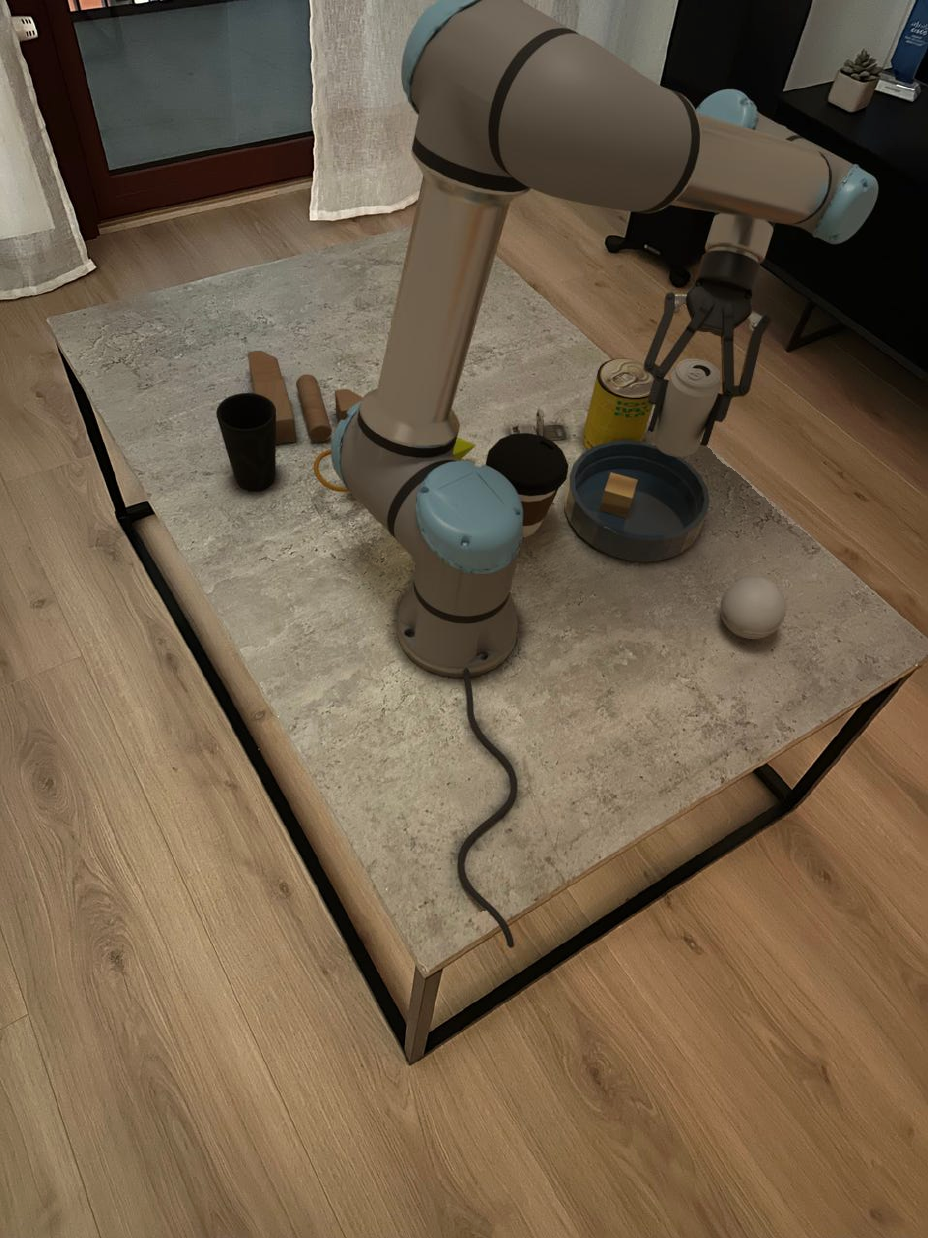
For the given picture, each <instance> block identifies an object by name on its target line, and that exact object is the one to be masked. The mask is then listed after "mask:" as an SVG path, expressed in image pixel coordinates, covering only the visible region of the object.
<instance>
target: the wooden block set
mask: <svg viewBox="0 0 928 1238" xmlns="http://www.w3.org/2000/svg"><path fill="white" fill-rule="evenodd" d="M247 360H248V367H249V374H250V376H251V377H250V378H251V382H252V387H253V393H254V394H259V395H262V396H264V397H266V398H268V399H269V400H270V401H272V402H273V404H274V406H275V408H276V445H280V444H281V445H282V444H288V443H294V442H296V440H297V434H296V433H297V432H296V423H295V417H294V412H293V408H292V405H291V400H290V397H289V393H288V389H287V385H286V382H285V381H284V379H283V374H282V371H281V368H280V364H279V359H278V358H277V357H276V356H275V355H271V354H269V353H267V352H264V351H263V350H252V351H249V352H248V353H247ZM295 387H296V390H297V394H298V398H299V402H300V405H301V408H302V412H303V416H304V419H305V420H304V421H305V423H306V427H307V430H308V434H309V437H310V438H311V439H312V440H313V441H315V442H318V443H319V442H326V441H327V440H328V439H330V437H331V436H332V433H333V430H332V426H331V423H330V419H329V417H328V413H327V409H326V405H325V403H324V399H323V396H322V392H321V389H320V385H319V383H318V380H317V377H315V376H314V375H312V374H309V373H308V374H307V373H306V374H301V375H300V376H299V377H298V378H297V380H296V382H295ZM363 397H364V396H361V395H359V394H358V393H356V392H354V391H353V390H351V389H349V388H344V389H335V390H334V401H335V417H336V420H337V423H338V424H339V422H340V420H345V419H346V418H347V417H348V415H347V412H348V410H349V409H350V408H351V407H352V406H354V405H355V404H356V403H358V402H360V401H361V400H362V398H363Z"/></svg>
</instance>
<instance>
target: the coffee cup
mask: <svg viewBox="0 0 928 1238" xmlns="http://www.w3.org/2000/svg"><path fill="white" fill-rule="evenodd" d="M485 465H486V466H489V467H491V468H493V469H495V470H496V471H498V472H499V473H501V474H502V475H503V476H504V477H506V478H507V479H508V480H509V482H510V483H511V484H512V485H513V486H514V488H515V489H516V491H517V493H518V495H519V497H520V500H521V503H522V508H523V523H522V524H523V536H522V538H527V537H529V536H531V535H533V534H534V533H536V532H537V531H538V529H539V528H540V527H541V526H542V523H543V522H544V519H545V517H546V516H548V514H549V511H550V509H551V506H552V504H553V502H554V500H555V498H556V495H557V493H558V491H559V489H560V488H561V487H562V486H563V484H564V483H565V482H566V481H567V479H568V472H569V466H570V465H569V462H568V461H567V457H566V455H565V453H564V451H563V449H562V448H560V446H558V445H557V443H555V442H554V440H549V439H547V438H545V437H542V436H540V435H539V434H537V435H535V434H530V433H519V434H518V433H514V434H509V435H506V436H504V437H502V438H499V439H498V441H496V442H495V444H494V445H492V447H491V448H490V449H489V450H488V452H487V456H486V460H485Z"/></svg>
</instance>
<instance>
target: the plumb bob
mask: <svg viewBox="0 0 928 1238" xmlns="http://www.w3.org/2000/svg"><path fill="white" fill-rule="evenodd" d="M476 446H477V444H474V443H472V442H470V441H469V440H465V439H463V438H461V437H458V436H457V439H456V443H455V446H454V450H453V455H454V457H455V458H456V459H457V460H458V461H462V459H463V458H464V457H465V456H466V455H468V454H469V453H470V452H471V451H472V450H473V449H474V448H475V447H476ZM329 455H331V448H330V449H327V450H324V451H323V452H321V453H320V454H319V455H317V457H316V458H315V460H314V464H313V473H314V475H315V478H316V479H317V480H318V482H320V483H321V484H322V486H324V487H326V488H327V489H329V490H332V491H334V492H341V493H347V492H349V491H348V490H347V489H346V487H345V486H337V485H334V484H332V483H329V482H328V481H327V480H326V479H324V477H323V476H322V475H321V472H320V470H319V466H320V462H321V461H322V460H323V458H325V457H326V456H329Z"/></svg>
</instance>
